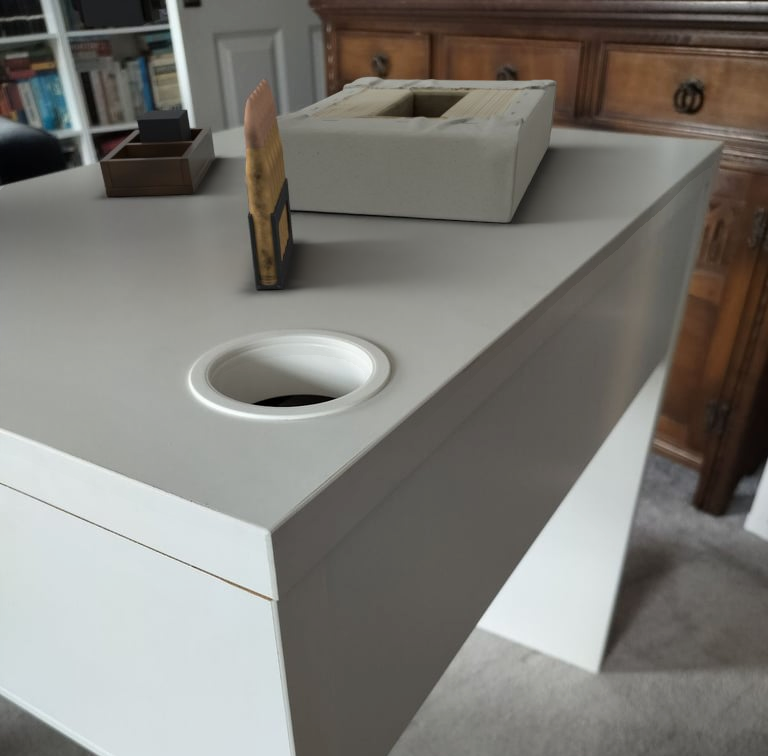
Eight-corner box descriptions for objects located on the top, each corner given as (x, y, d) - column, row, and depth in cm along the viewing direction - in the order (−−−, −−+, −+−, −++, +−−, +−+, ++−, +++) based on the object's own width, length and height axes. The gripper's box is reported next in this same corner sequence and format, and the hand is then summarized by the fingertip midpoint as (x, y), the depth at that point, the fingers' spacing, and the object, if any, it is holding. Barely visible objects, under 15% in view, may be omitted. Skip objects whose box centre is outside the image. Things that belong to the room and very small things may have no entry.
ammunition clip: (270, 243, 64) (253, 76, 57) (293, 243, 64) (278, 76, 57) (256, 290, 55) (232, 99, 48) (282, 289, 55) (262, 99, 48)
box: (518, 227, 66) (552, 146, 91) (524, 127, 62) (558, 70, 87) (264, 217, 72) (361, 144, 97) (252, 125, 67) (357, 72, 92)
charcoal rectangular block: (145, 166, 85) (136, 119, 82) (155, 155, 89) (147, 110, 86) (186, 165, 85) (178, 118, 82) (194, 154, 89) (187, 109, 87)
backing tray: (107, 197, 77) (99, 161, 76) (141, 160, 91) (135, 129, 89) (193, 193, 78) (188, 158, 76) (215, 158, 91) (211, 127, 89)
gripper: (-84, -302, 51) (2, 27, 61) (176, -308, 51) (217, 22, 62) (-36, -275, 57) (35, 20, 68) (195, -280, 57) (229, 15, 68)
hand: (121, 18), depth 64 cm, fingers closed on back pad, 4 cm apart
